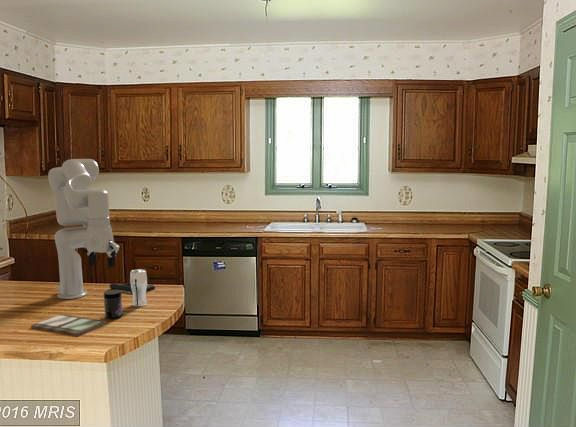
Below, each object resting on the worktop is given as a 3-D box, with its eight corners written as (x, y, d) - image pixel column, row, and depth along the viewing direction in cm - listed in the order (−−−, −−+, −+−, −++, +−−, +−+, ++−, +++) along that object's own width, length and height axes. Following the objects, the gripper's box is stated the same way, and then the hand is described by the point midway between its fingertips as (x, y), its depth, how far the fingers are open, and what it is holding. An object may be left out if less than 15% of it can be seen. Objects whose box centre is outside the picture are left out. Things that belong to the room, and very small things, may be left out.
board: (31, 327, 185) (30, 324, 185) (61, 316, 198) (60, 313, 197) (79, 336, 176) (78, 332, 175) (107, 323, 188) (106, 320, 188)
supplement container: (114, 320, 192) (113, 295, 190) (101, 318, 194) (99, 293, 193) (126, 315, 198) (125, 290, 196) (113, 313, 200) (111, 288, 199)
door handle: (132, 278, 249) (107, 284, 235) (161, 283, 240) (137, 289, 226) (132, 284, 250) (107, 290, 236) (161, 289, 240) (137, 296, 226)
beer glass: (149, 301, 215) (148, 268, 214) (145, 306, 208) (144, 272, 207) (134, 302, 215) (132, 269, 213) (129, 307, 208) (127, 273, 206)
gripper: (75, 222, 187) (78, 266, 189) (109, 224, 180) (112, 270, 182) (90, 220, 194) (93, 262, 196) (123, 222, 186) (126, 265, 189)
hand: (102, 266), depth 189 cm, fingers open, 9 cm apart
